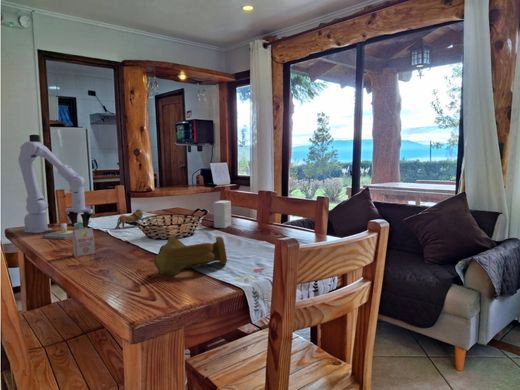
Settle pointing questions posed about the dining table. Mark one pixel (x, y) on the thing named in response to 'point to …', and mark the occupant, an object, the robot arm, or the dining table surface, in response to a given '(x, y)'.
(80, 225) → the ring
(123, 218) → the lion figurine
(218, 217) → the small box
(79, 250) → the grey printed carton
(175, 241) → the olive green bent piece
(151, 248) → the dining table surface
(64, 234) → the post stand
